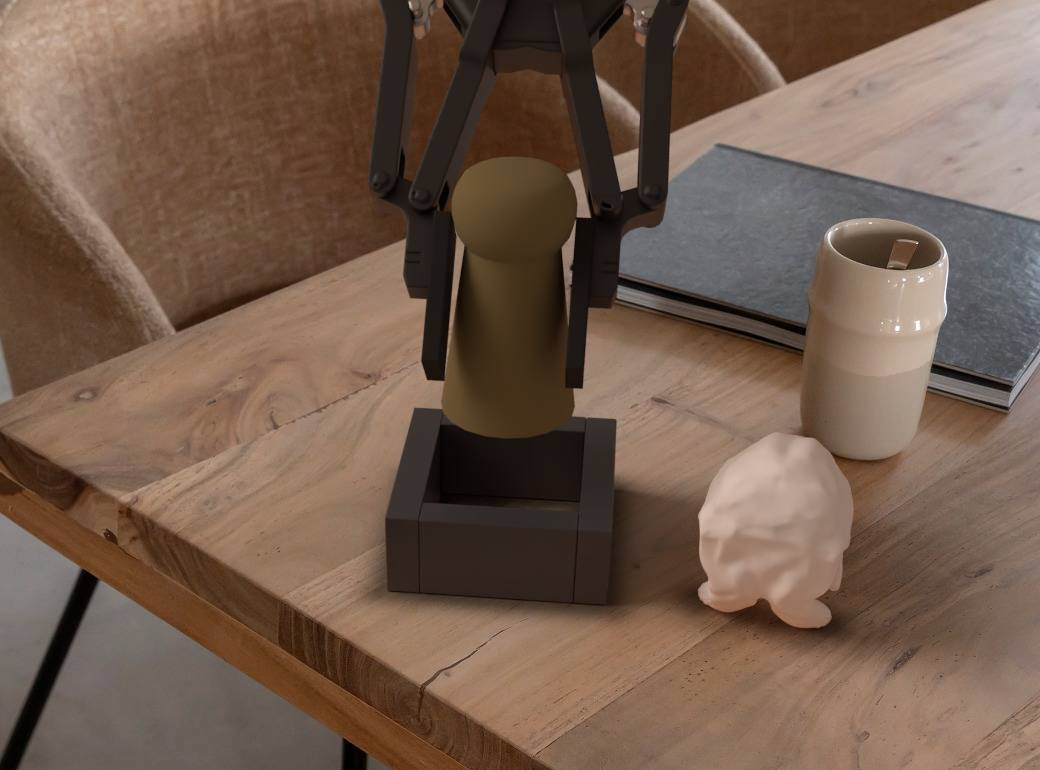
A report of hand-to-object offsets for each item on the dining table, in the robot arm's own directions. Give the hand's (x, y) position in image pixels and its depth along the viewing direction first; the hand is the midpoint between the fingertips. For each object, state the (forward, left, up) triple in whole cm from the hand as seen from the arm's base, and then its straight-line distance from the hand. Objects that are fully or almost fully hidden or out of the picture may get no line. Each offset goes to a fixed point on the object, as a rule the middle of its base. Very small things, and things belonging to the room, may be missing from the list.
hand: (503, 374), depth 61 cm
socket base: (0, -4, -11) cm, 11 cm away
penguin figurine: (-13, -2, -11) cm, 17 cm away
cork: (0, -4, -4) cm, 5 cm away
